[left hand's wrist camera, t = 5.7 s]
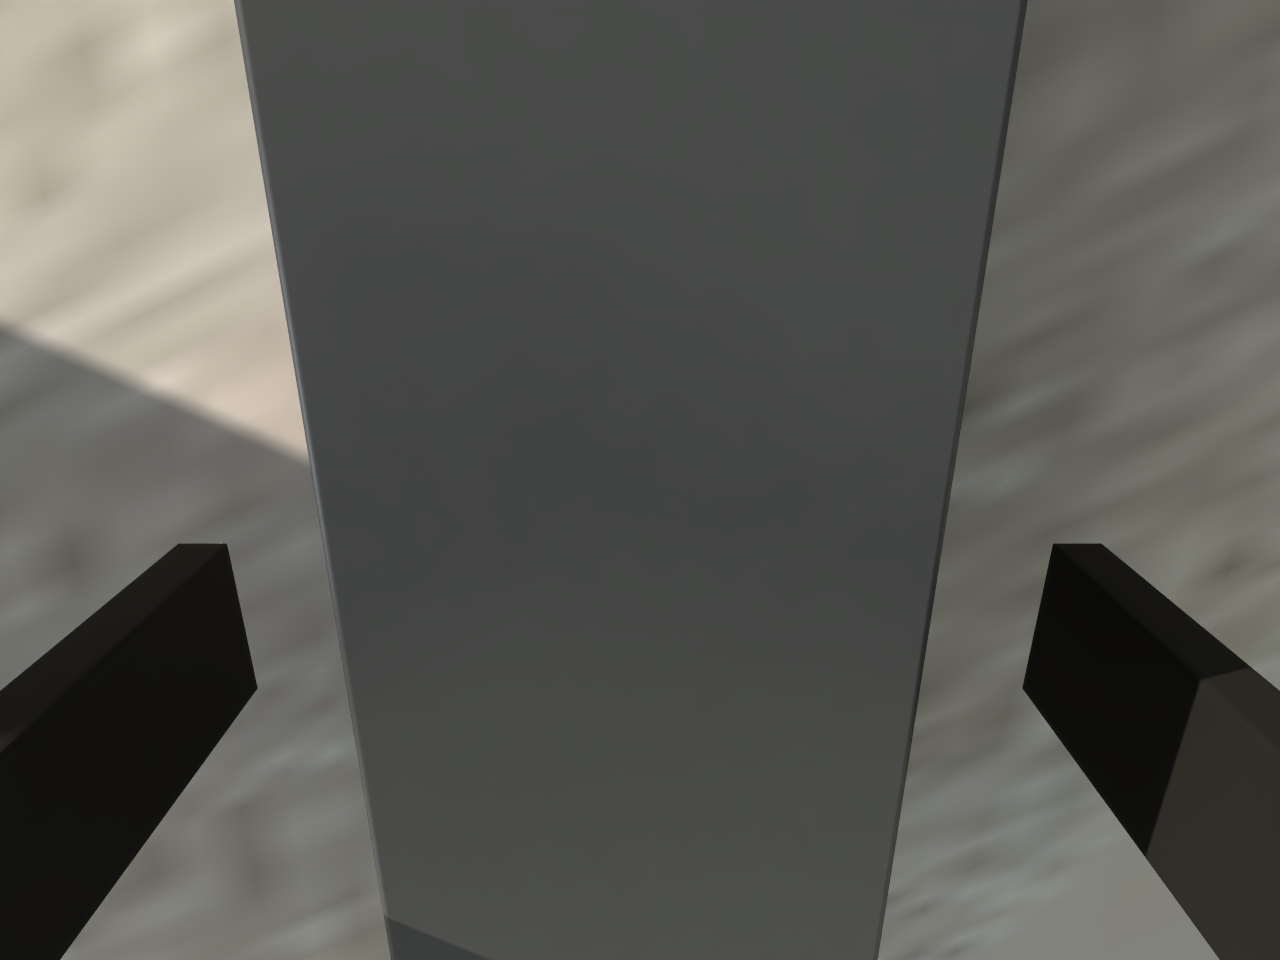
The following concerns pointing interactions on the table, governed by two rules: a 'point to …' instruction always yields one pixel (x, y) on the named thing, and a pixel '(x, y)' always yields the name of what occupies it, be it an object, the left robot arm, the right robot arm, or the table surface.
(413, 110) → the bar
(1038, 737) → the table surface
